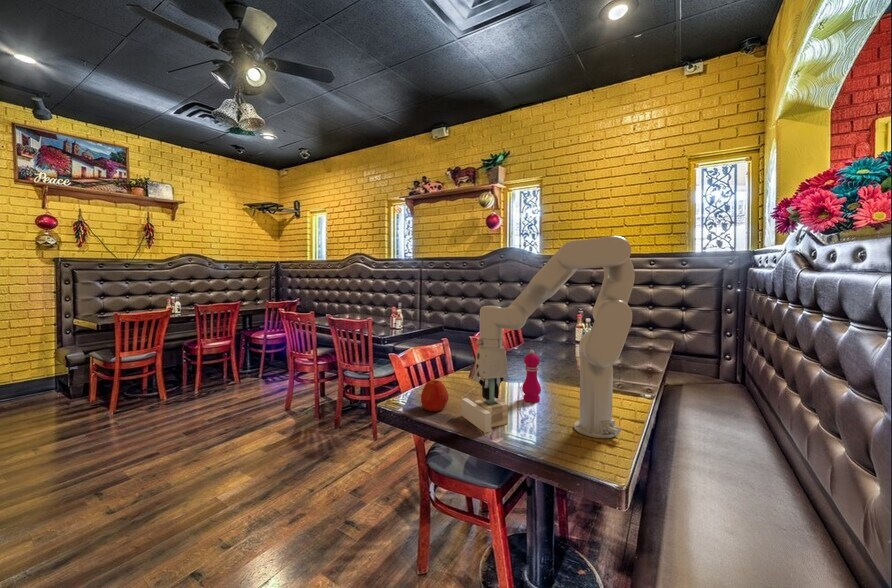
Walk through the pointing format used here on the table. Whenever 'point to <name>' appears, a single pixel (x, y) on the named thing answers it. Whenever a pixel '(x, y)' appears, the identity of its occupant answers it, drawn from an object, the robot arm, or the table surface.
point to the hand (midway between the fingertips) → (490, 397)
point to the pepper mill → (531, 378)
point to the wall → (476, 415)
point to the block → (495, 411)
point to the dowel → (491, 392)
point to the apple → (434, 396)
